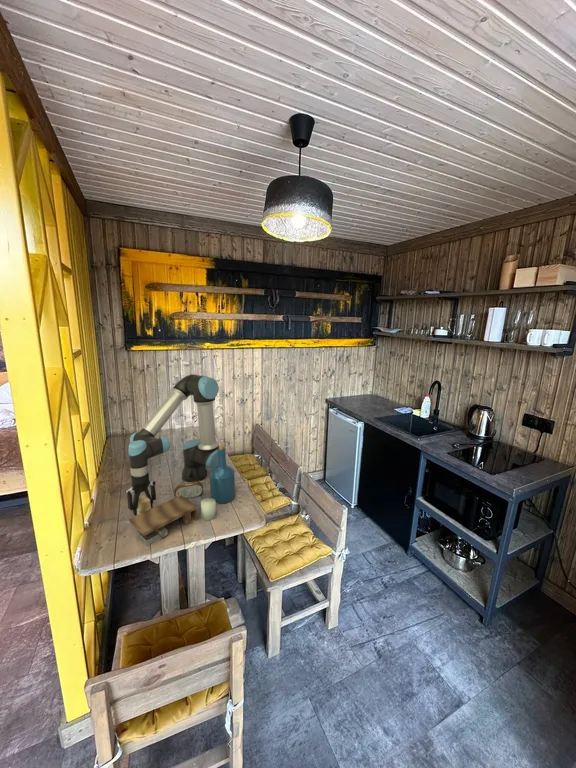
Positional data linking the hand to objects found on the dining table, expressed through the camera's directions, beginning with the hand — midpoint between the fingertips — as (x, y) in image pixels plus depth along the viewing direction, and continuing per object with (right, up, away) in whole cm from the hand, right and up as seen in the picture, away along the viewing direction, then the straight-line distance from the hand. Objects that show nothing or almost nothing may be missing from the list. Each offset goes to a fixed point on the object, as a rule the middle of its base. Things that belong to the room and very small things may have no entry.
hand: (143, 517), depth 154 cm
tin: (+16, +2, +20) cm, 26 cm away
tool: (+6, -2, -5) cm, 9 cm away
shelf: (+12, -2, -4) cm, 13 cm away
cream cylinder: (+31, -1, +4) cm, 31 cm away
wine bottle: (+34, +2, +20) cm, 40 cm away
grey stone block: (+9, -5, -13) cm, 16 cm away
